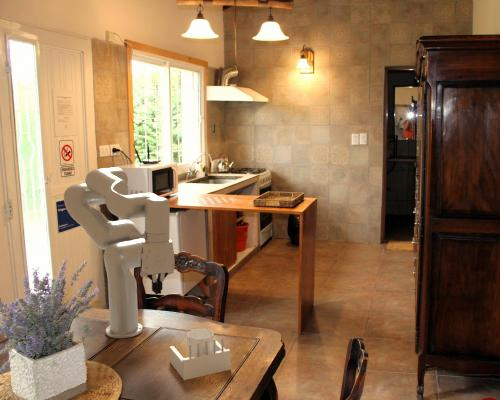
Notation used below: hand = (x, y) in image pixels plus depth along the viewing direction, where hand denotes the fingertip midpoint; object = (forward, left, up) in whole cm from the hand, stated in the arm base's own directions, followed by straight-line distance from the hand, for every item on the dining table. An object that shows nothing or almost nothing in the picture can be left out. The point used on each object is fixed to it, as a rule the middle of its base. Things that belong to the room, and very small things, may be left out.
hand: (157, 292), depth 173 cm
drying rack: (+18, +7, -19) cm, 27 cm away
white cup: (+18, +8, -19) cm, 27 cm away
